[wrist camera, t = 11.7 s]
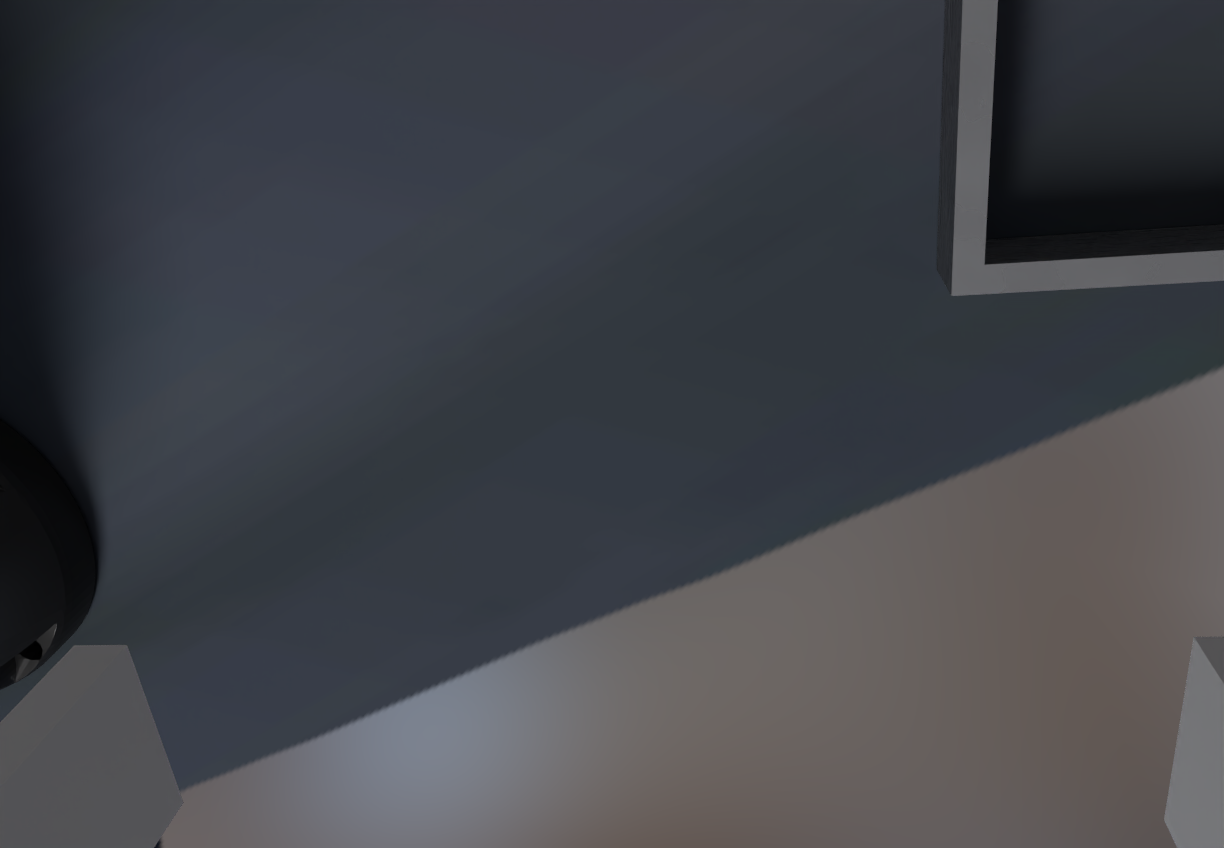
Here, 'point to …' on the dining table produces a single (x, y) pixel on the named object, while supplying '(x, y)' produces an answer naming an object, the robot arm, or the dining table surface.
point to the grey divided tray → (1035, 259)
